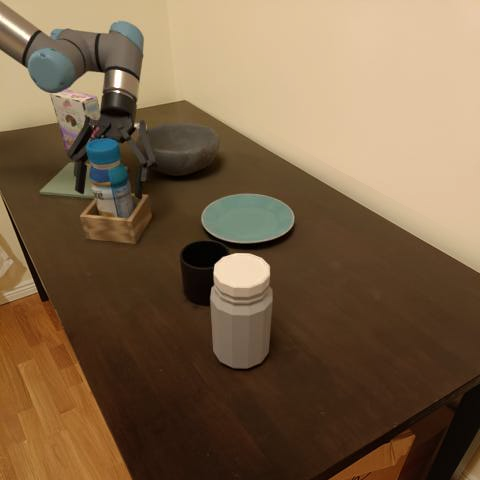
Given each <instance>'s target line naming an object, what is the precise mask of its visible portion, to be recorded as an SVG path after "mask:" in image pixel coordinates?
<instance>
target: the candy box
mask: <svg viewBox="0 0 480 480" xmlns="http://www.w3.org/2000/svg"><path fill="white" fill-rule="evenodd" d="M49 96H50V101H51V103H52V106H53V110H54V114H55V117H56V120H57V124H58V127H59V130H60V133H61V136H62V140H63V144H64V147H65V150H68V151H69V149H70V147H71V146H72V144H73V142H74V141H75V139H76V138H77V136H78V134H79V133H80V131H81V129H82V128H83V126H84V122H85V118H86V117H90V118H91V119H93V120H99V118H100V108H101V107H100V105H99V104H100V103H99V99H98V96H96V95H92V94H87V93H83V92H79V91H75V90H70V89H65V90H63V91H61V92H59V93H49ZM98 130H99V127H97V128H96V130H94V132H93V134H92V136H91V138H90V139H89V141H90V140H91V139H92V138H93V137H94V135H95V133H96V132H97V131H98ZM101 137H103V135H102V136H101ZM89 141H88V142H89ZM88 142H87V143H88Z"/></svg>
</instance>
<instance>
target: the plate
mask: <svg viewBox="0 0 480 480" xmlns="http://www.w3.org/2000/svg"><path fill="white" fill-rule="evenodd" d="M200 219H201V220H200V221H201V224H202V227H203V228H204V229H205V231H207V232H208V233H209V235H212V236H213V237H214V238H216V239H219V240H221V241H225V242H227V243H233V244H243V245H244V244H245V245H247V244H248V245H249V244H259V243H264V242H269V241H272V240H276V239H278V238H281V237H282V236H284V235H286V234H287V233H288V232H289V231H290V230H291V229H292V227H293V226H294V223H295V214H294V211H293V209H292V208H291V207H290V206H289V205H287V204H286V203H285V202H283V201H282V200H279V199H277V198H275V197H272V196H269V195H264V194H260V193H259V194H258V193H236V194H231V195H227V196H223V197H220V198H219V199H216V200H214V201H213V202H211V203H209V204H208V205H207V206H206V207H205V208H204V210H203V211H202V213H201V216H200Z"/></svg>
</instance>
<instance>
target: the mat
mask: <svg viewBox="0 0 480 480" xmlns="http://www.w3.org/2000/svg"><path fill="white" fill-rule="evenodd" d="M74 164H75V162H69V161H68V163H67V164H66V165H65V166H64V167H62V169H61V170H60V171H58V173H57V174H56V175H54V176H53V177H52V179H50V181H49V182H47V183H46V184H45V185H44V186H43V187H42V188H41V189H40V190H39V194H40V195H48V196H58V197H69V198H82V199H92V200H94V199H95V196H94V194H93V192H92V182H91V181H90V178H89V174H90V169H91V166H92V164H91V163H85V164H86V165H87V172H86V181H85V189H84V194H80V193H79V192H77V191H75V184H76V177H75V176H74V174H73V172H74ZM125 168H126V170H127V171H129V167H128V166H125Z"/></svg>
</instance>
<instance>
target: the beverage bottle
mask: <svg viewBox="0 0 480 480" xmlns="http://www.w3.org/2000/svg"><path fill="white" fill-rule="evenodd" d="M120 148H121V147H120V143H118V142H117V141H115V140H113V139H96V140H93V141H91V142H89V143H88V144H87V145H86V151H87V155H88V162H89V164H92V166H91V169H90V174H89V178H90V181H91V182H92V192H93V194H94V196H95V200H96V204H97V208H98V212H99V215H100V216H106V217H117V218H127V219H129V217H130V216H131V214H132V213H133V211H134V207H133V201H132V196H131V193H132V191H131V190H132V185H131V181H130V179H129V178H128V177H129V172H128V170H126V168H125V167H126V166H125V165H124V164H123V163H122V162H121V158H122V154H121V149H120Z"/></svg>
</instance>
